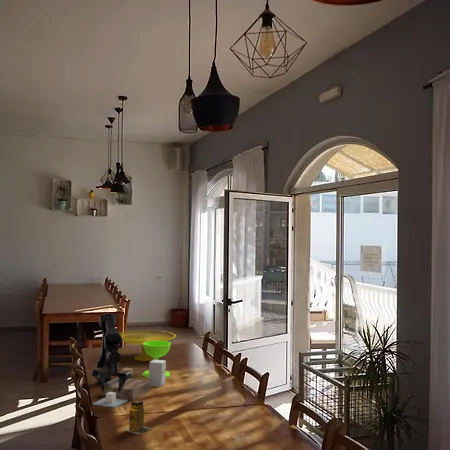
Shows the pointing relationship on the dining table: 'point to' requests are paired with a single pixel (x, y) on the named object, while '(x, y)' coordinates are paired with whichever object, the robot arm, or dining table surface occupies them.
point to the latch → (128, 370)
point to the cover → (110, 401)
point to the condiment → (137, 417)
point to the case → (127, 388)
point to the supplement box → (157, 372)
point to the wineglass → (156, 352)
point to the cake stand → (141, 340)
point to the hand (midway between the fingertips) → (111, 391)
